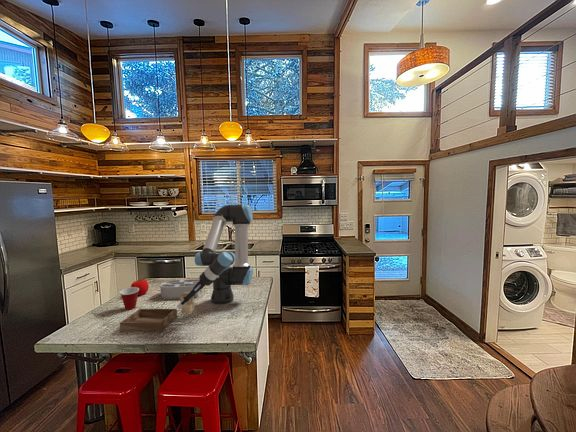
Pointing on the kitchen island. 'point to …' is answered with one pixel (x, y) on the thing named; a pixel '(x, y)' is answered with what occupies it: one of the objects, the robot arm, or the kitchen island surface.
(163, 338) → the kitchen island surface
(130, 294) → the plastic cup
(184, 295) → the oak peg
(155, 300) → the kitchen island surface
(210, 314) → the kitchen island surface
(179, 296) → the grey compartment tray
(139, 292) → the tomato
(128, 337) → the kitchen island surface
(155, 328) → the walnut crate
